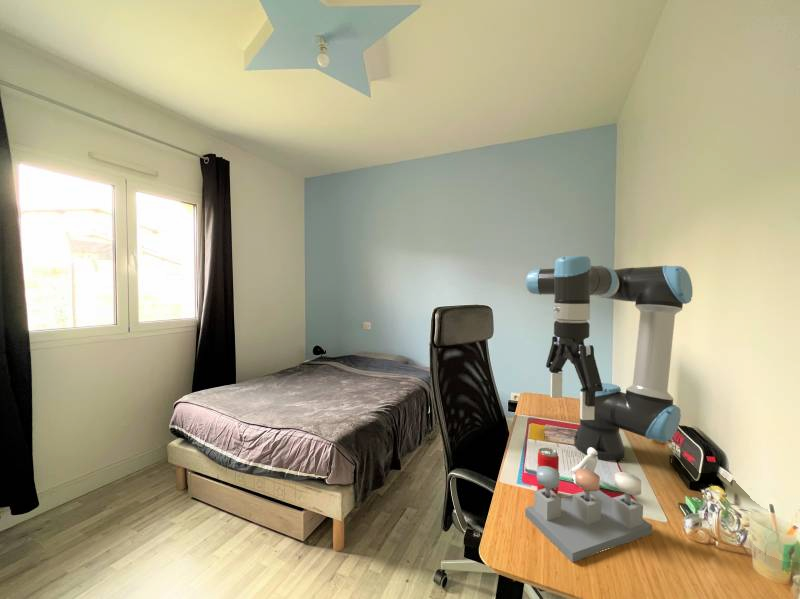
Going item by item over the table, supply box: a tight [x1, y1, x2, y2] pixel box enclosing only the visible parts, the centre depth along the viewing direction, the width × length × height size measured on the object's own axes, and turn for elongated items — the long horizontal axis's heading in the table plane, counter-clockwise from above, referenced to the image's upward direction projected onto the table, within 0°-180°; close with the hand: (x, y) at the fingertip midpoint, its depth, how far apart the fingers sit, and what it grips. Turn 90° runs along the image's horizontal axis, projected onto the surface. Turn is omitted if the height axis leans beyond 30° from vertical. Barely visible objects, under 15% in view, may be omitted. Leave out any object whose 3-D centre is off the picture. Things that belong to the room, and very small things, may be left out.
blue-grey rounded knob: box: [536, 466, 560, 498], centre depth 76 cm, size 5×5×7 cm
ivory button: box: [614, 471, 642, 506], centre depth 73 cm, size 5×5×7 cm
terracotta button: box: [574, 469, 601, 502], centre depth 74 cm, size 5×5×7 cm
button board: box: [524, 488, 653, 563], centre depth 75 cm, size 24×14×6 cm, turn 108°
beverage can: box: [536, 447, 560, 496], centre depth 85 cm, size 5×5×12 cm
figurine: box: [570, 447, 599, 488], centre depth 90 cm, size 8×8×12 cm
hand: (570, 407), depth 76 cm, fingers open, 13 cm apart
